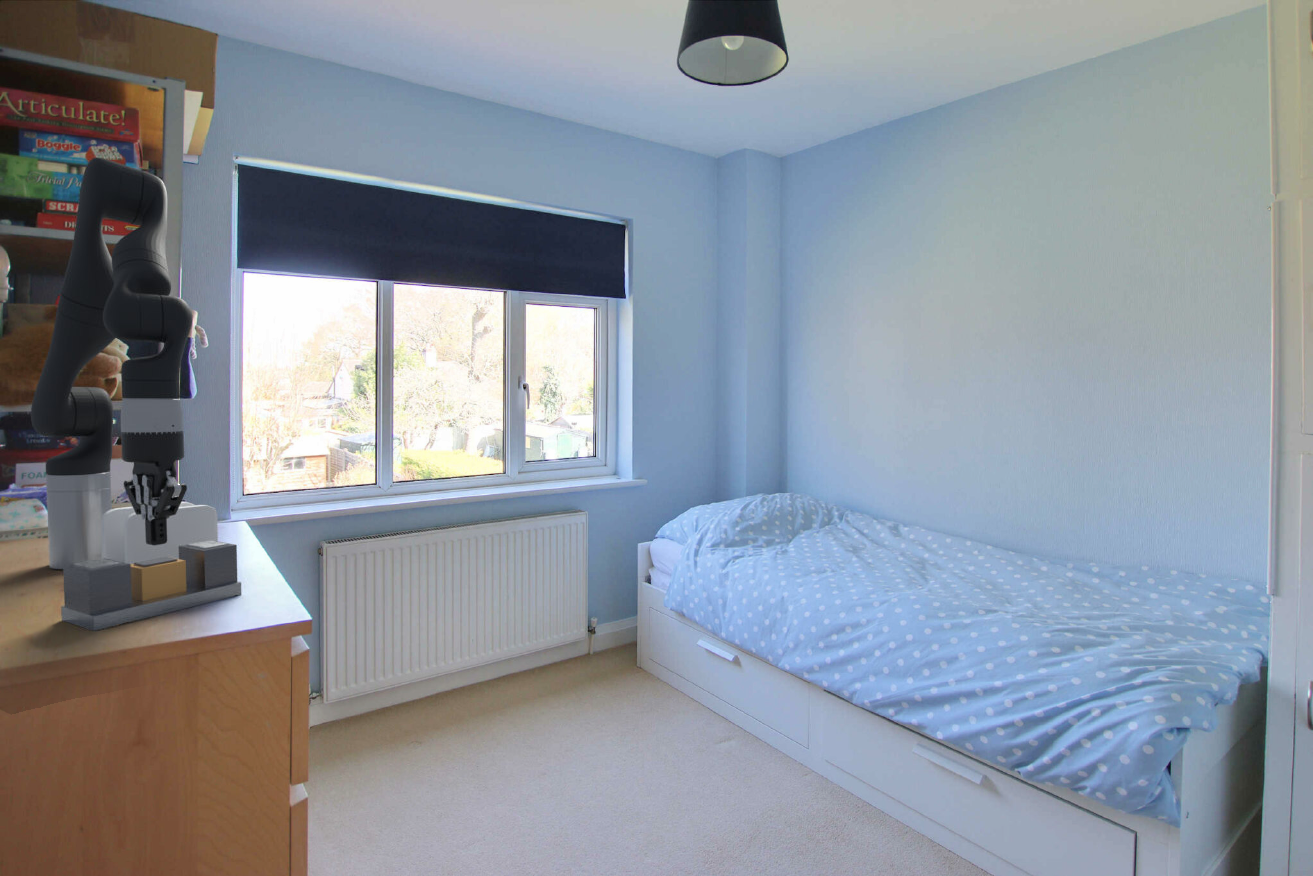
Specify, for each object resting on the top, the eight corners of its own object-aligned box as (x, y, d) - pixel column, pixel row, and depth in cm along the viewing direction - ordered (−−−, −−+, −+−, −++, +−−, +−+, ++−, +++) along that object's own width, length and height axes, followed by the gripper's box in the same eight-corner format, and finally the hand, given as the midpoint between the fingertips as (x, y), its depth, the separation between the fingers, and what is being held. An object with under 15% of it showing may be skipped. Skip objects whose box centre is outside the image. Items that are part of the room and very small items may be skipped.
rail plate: (61, 620, 97) (59, 563, 96) (208, 586, 115) (207, 538, 114) (94, 631, 93) (92, 571, 92) (241, 594, 111) (240, 544, 110)
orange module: (169, 586, 107) (168, 555, 107) (186, 590, 105) (185, 558, 105) (125, 596, 102) (124, 563, 102) (142, 600, 100) (141, 566, 100)
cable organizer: (122, 582, 117) (120, 514, 117) (101, 572, 123) (99, 508, 123) (219, 565, 130) (217, 504, 129) (195, 557, 136) (193, 499, 135)
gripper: (205, 429, 103) (208, 544, 104) (156, 427, 109) (159, 535, 110) (149, 431, 96) (153, 553, 97) (100, 428, 102) (104, 544, 103)
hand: (156, 543), depth 103 cm, fingers closed
